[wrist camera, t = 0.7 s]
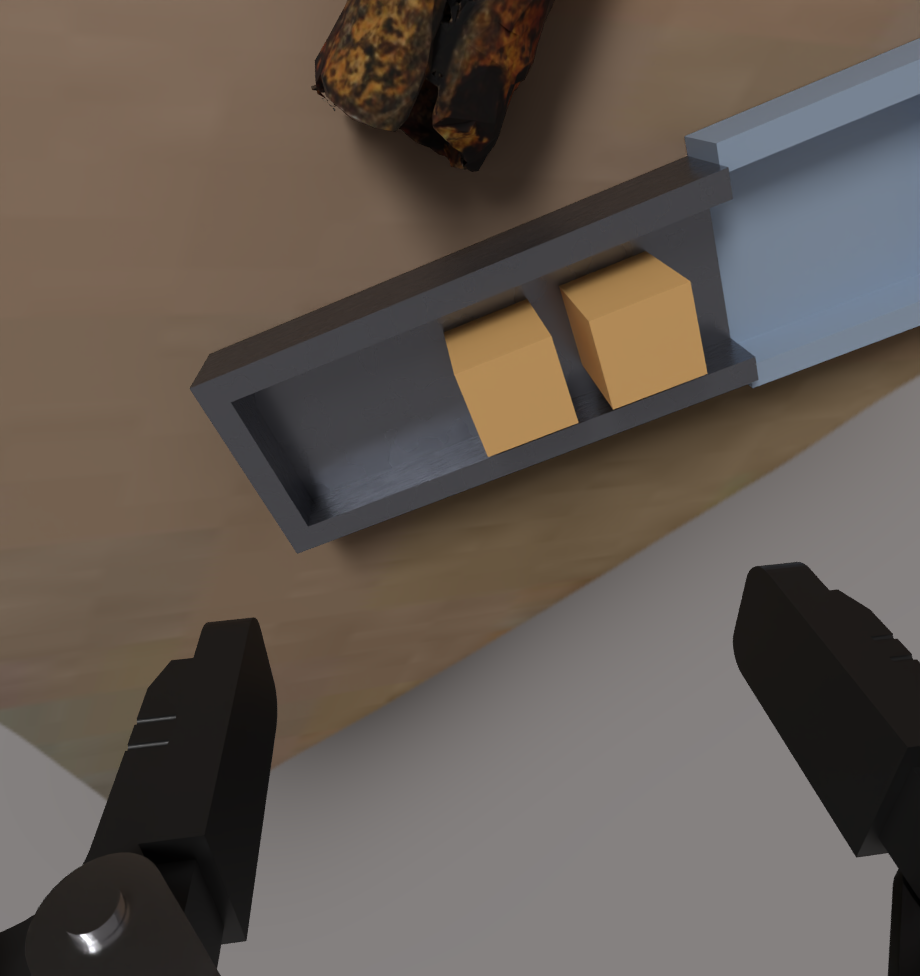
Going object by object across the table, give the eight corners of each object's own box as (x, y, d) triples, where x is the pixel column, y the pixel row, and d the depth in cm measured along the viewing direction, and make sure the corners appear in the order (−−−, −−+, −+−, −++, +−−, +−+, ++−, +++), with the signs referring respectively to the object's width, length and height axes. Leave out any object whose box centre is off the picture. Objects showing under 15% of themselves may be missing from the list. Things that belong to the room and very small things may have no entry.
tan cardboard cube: (527, 298, 30) (551, 336, 26) (552, 376, 32) (578, 422, 28) (443, 332, 31) (454, 374, 26) (473, 406, 33) (488, 457, 29)
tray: (969, 17, 28) (1034, 11, 25) (960, 272, 33) (1012, 290, 31) (684, 136, 29) (716, 143, 26) (723, 363, 35) (752, 388, 32)
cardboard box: (645, 250, 30) (690, 281, 25) (663, 333, 32) (707, 373, 28) (559, 286, 30) (588, 321, 26) (582, 364, 32) (613, 409, 28)
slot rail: (687, 155, 29) (728, 167, 26) (720, 349, 34) (758, 380, 31) (209, 354, 32) (189, 388, 28) (304, 508, 37) (297, 553, 33)
